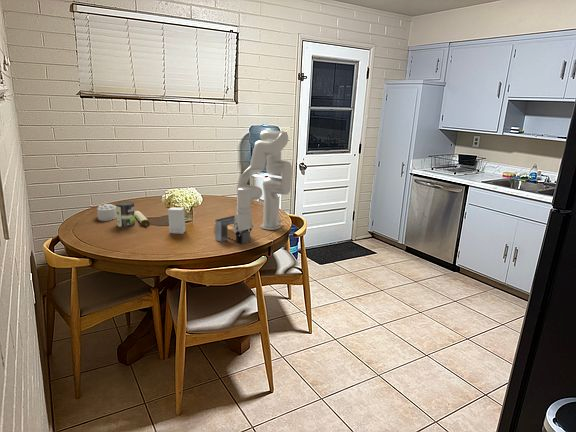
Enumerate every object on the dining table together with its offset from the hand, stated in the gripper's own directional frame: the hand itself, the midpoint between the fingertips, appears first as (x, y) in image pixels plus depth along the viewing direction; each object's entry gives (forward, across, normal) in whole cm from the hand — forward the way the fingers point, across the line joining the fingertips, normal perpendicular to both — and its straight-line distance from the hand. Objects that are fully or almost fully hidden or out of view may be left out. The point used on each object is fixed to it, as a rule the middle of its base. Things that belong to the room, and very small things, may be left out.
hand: (243, 240), depth 221 cm
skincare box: (+1, +18, -37) cm, 41 cm away
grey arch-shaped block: (0, 0, -10) cm, 10 cm away
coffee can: (+1, +33, -68) cm, 76 cm away
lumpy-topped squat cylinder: (+1, +34, -90) cm, 96 cm away
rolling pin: (+1, +22, -70) cm, 73 cm away
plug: (+1, 0, -10) cm, 10 cm away
